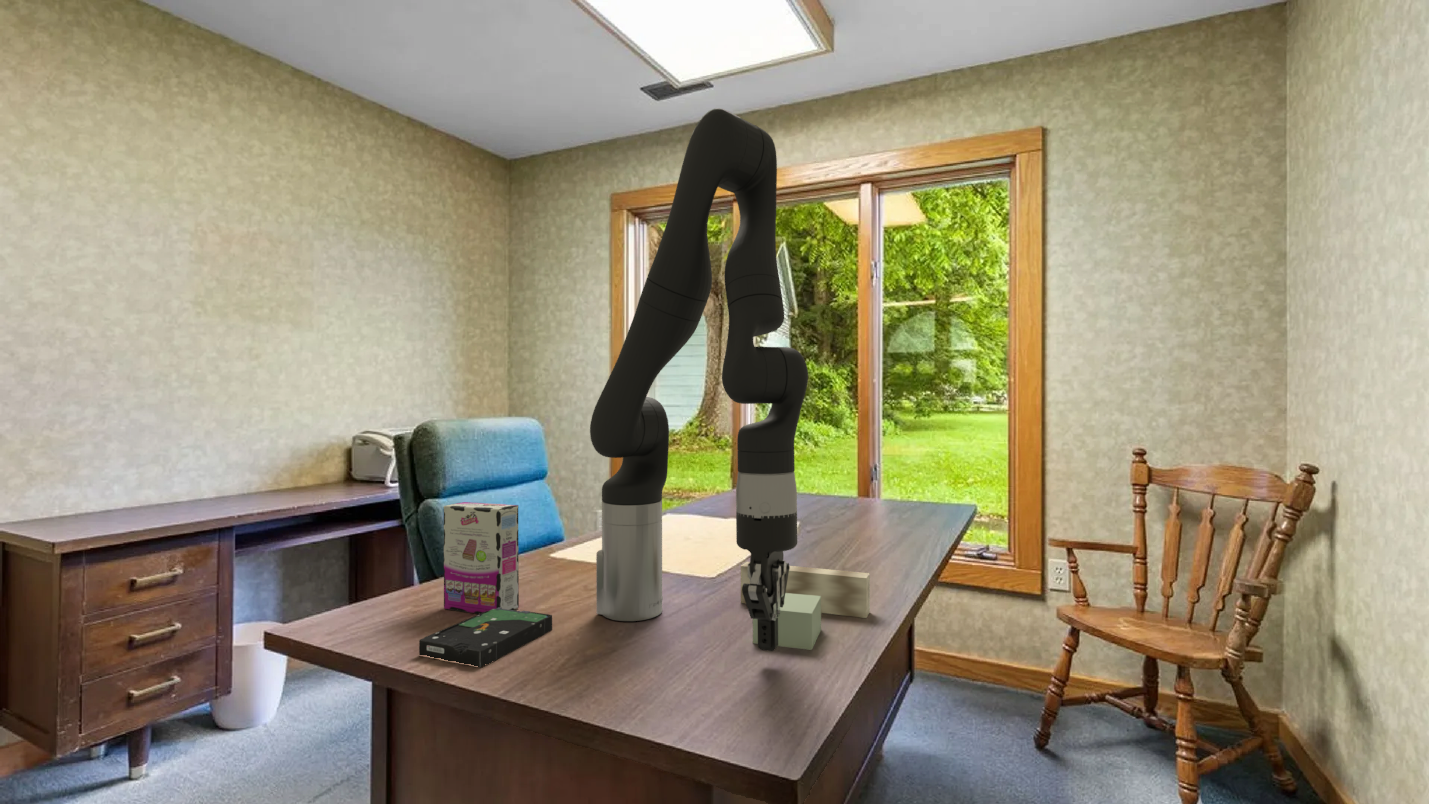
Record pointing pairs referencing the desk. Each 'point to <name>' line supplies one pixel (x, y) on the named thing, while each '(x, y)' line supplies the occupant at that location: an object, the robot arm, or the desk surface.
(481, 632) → the disk drive
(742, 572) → the stop board
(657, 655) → the desk surface
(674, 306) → the robot arm
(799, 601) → the sage block
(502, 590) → the candy bar box
